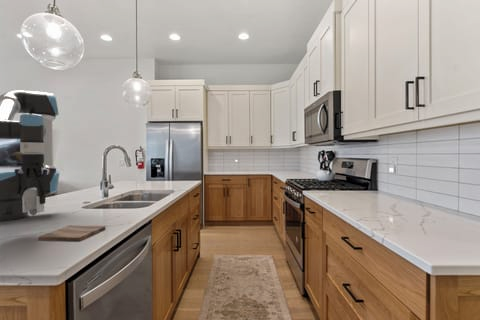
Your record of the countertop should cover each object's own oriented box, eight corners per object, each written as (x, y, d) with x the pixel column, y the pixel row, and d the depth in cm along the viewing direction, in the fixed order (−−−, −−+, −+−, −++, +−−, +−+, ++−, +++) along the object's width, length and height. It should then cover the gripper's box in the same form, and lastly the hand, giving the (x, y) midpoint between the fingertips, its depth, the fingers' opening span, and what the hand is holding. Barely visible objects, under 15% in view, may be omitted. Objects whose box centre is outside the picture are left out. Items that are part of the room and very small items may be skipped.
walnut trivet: (69, 228, 116) (69, 225, 116) (105, 229, 115) (105, 226, 115) (38, 239, 100) (38, 236, 100) (79, 241, 99) (79, 237, 99)
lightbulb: (46, 213, 111) (45, 186, 111) (30, 217, 106) (29, 189, 105) (35, 212, 113) (35, 186, 113) (19, 216, 107) (18, 188, 107)
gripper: (2, 153, 106) (3, 213, 106) (46, 153, 104) (47, 214, 105) (19, 153, 113) (20, 209, 114) (61, 153, 111) (62, 210, 112)
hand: (33, 211), depth 109 cm, fingers closed on lightbulb, 5 cm apart
